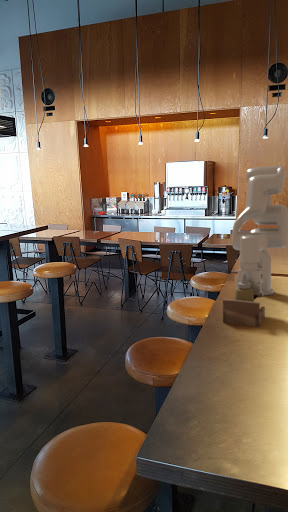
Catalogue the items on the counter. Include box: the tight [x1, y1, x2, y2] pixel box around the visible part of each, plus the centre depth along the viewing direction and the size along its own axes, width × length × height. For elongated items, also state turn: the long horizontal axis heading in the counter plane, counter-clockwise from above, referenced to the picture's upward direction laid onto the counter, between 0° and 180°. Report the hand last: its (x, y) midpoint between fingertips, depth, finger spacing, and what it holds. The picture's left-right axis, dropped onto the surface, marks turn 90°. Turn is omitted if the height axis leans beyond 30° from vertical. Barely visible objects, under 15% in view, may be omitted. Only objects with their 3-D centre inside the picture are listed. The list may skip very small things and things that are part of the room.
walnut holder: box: [222, 298, 266, 328], centre depth 141 cm, size 11×13×9 cm
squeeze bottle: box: [234, 274, 255, 302], centre depth 142 cm, size 8×8×18 cm
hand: (249, 309), depth 150 cm, fingers closed
